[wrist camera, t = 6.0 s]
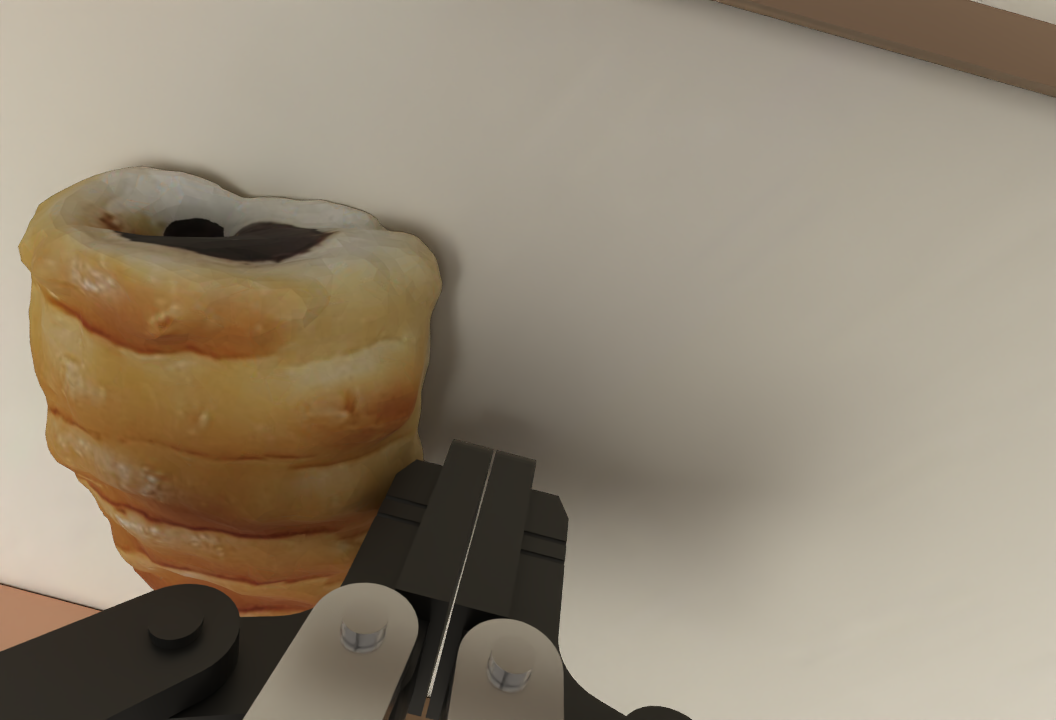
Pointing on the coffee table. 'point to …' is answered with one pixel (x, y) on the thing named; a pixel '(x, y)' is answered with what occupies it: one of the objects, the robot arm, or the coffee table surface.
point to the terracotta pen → (33, 615)
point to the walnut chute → (928, 42)
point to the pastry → (229, 375)
